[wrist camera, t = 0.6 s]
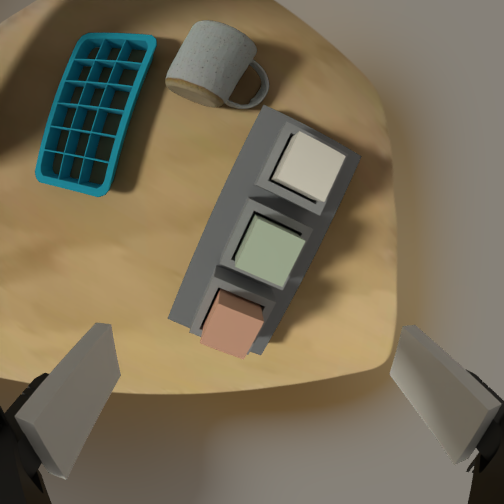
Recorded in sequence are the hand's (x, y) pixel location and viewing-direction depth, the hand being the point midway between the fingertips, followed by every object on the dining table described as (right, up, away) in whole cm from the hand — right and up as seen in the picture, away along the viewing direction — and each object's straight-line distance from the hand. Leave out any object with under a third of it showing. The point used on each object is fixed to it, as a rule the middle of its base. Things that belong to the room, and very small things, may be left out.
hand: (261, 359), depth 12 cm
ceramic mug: (-4, +25, +18) cm, 31 cm away
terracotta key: (-2, -2, +19) cm, 19 cm away
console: (+1, +7, +22) cm, 24 cm away
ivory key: (+4, +12, +16) cm, 20 cm away
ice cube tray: (-20, +22, +18) cm, 35 cm away
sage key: (+1, +5, +17) cm, 18 cm away
